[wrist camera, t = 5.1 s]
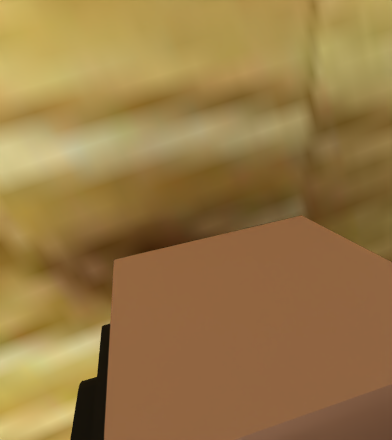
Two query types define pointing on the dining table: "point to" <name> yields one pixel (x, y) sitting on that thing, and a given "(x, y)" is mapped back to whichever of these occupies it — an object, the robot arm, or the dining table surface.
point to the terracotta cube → (252, 339)
